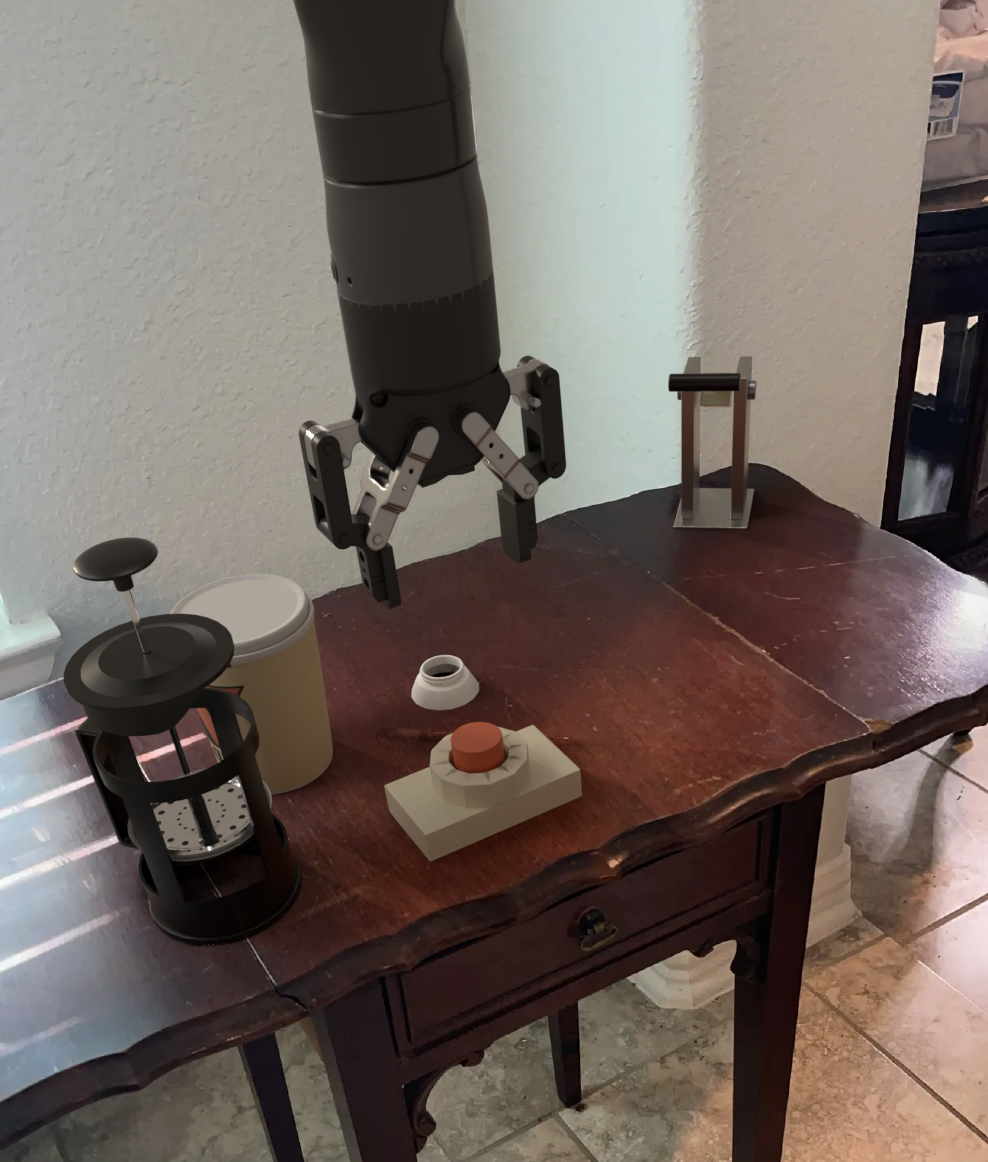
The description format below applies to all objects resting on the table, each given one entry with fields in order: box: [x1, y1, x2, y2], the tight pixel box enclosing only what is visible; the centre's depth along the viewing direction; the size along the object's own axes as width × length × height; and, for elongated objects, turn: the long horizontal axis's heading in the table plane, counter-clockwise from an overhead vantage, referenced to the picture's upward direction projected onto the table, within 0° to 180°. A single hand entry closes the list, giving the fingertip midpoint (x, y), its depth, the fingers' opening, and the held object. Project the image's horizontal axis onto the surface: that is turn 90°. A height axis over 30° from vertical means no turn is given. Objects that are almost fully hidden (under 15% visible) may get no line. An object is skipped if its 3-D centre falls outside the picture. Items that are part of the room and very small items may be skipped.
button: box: [451, 721, 505, 774], centre depth 78 cm, size 3×3×2 cm
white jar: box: [410, 654, 480, 711], centre depth 90 cm, size 5×3×5 cm
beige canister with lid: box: [169, 573, 334, 796], centre depth 83 cm, size 9×9×12 cm
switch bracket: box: [672, 355, 757, 531], centre depth 102 cm, size 7×6×13 cm
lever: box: [667, 372, 741, 409], centre depth 95 cm, size 12×5×2 cm, turn 166°
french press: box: [63, 536, 303, 946], centre depth 70 cm, size 12×9×23 cm
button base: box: [383, 724, 583, 862], centre depth 80 cm, size 11×6×4 cm, turn 119°
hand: (454, 578), depth 71 cm, fingers open, 7 cm apart
